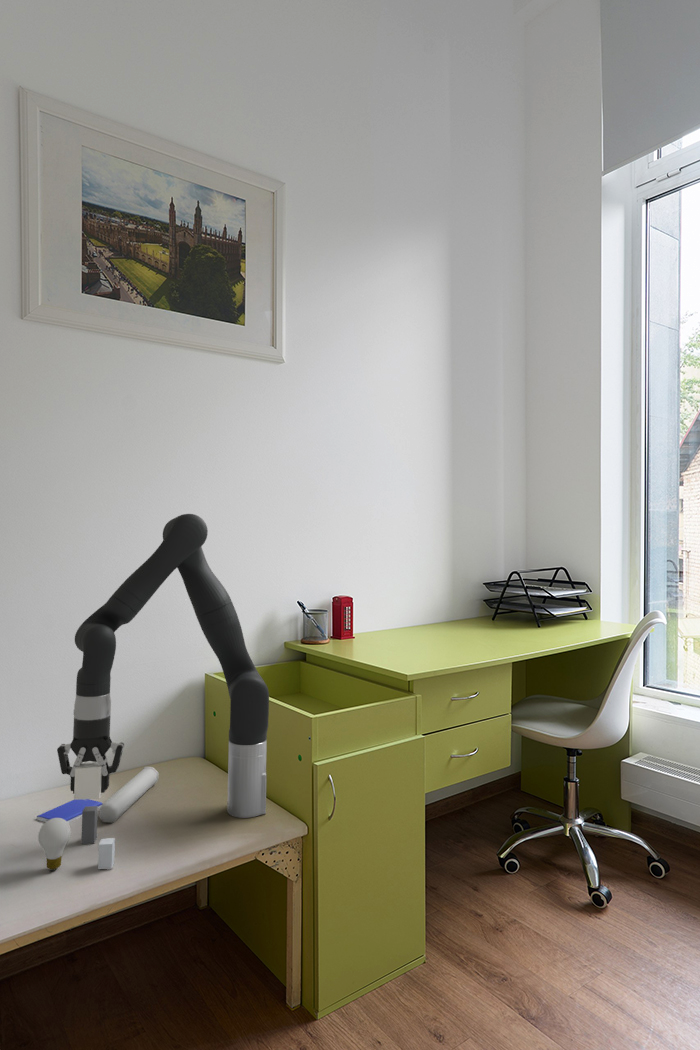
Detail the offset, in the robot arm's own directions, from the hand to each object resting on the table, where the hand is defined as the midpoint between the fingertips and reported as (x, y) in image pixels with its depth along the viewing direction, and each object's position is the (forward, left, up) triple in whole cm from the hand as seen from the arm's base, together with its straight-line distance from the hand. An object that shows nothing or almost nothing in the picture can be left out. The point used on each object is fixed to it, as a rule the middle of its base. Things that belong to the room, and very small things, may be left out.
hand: (89, 791), depth 142 cm
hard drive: (+8, -16, -11) cm, 21 cm away
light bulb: (+4, +12, -11) cm, 17 cm away
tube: (-5, -20, -11) cm, 23 cm away
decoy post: (-6, +12, -11) cm, 17 cm away
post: (0, 0, -11) cm, 11 cm away
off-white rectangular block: (0, 0, -1) cm, 1 cm away
